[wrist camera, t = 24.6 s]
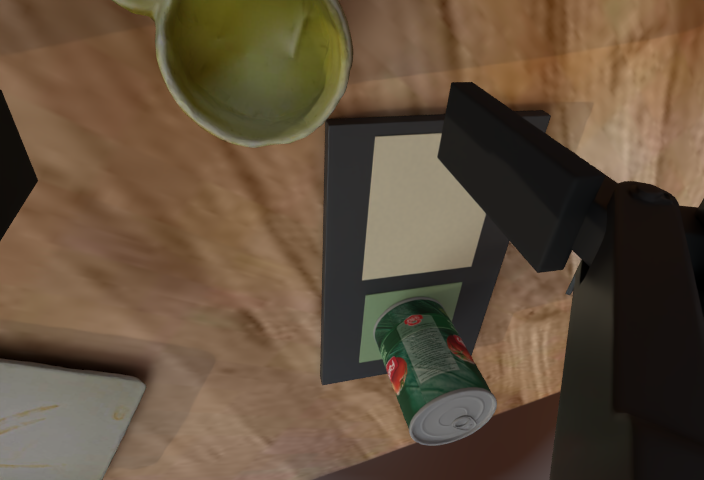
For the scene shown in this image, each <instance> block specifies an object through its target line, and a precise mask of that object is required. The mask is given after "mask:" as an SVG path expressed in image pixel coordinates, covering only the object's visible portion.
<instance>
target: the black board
mask: <svg viewBox="0 0 704 480" xmlns="http://www.w3.org/2000/svg"><path fill="white" fill-rule="evenodd" d="M514 112H516V113H517V114H518V115H520V116H521V117H523V118H524V119H526V120H527V121H528V122H530V123H531V124H533V125H534V126H536V127H537V128H538V129H540V130H541V131H543V132H544V133H545V132H546V129H547V126H548V123H549V120H550V117H551V115H549V114H548V113H546V112H545V111H543V110H536V111H514ZM444 119H445V114H440V115H416V116H392V117H368V118H344V119H327V120H326V121H325V163H324V213H323V264H322V314H321V364H320V378H321V382H322V385H327V384H332V383H338V382H343V381H349V380H354V379H360V378H365V377H371V376H377V375H382V374H388V373H387V370H386V367H385V365H384V362H383V359H382V357H381V354H380V351H379V348H378V345H377V343H376V341H375V339H374V335H373V330H374V326H375V323H376V321H377V320H378V318H379V317H380V315H381V314H382V313H383V312H384V311H385V310H387V309H388V308H389V307H391V306H392V305H394V304H396V303H398V302H400V301H402V300H405V299H408V298H413V297H429V298H432V299H435V300H437V301H438V302H440V303H441V304H442V305H443V307H444V309H445V312H446V314H447V315H448V317H449V318H450V320H451V322H452V324H453V325H454V327H455V329H456V331H457V332H458V334H459V336H460V338H461V339H462V342H463V343H464V345H465V346H466V349H467V350H468V352H469V353H470V356H471V355H472V352H473V349H474V346H475V343H476V340H477V337H478V334H479V331H480V328H481V325H482V322H483V319H484V316H485V313H486V310H487V307H488V304H489V301H490V298H491V295H492V292H493V289H494V286H495V283H496V280H497V277H498V274H499V271H500V268H501V265H502V262H503V259H504V256H505V253H506V250H507V247H508V244H509V239H508V238H507V237H506V236H505V235H504V234H503V233H502V231H501V230H500V229H499V228H498V227H497V226H496V225H495V223H494V222H493V221H492V220H491V219H490V218H489V216H488V215H487V214H486V213H485V212H484V211H483V210H482V208H481V207H480V206H479V205H478V204H477V203H476V202H475V200H474V199H473V198H472V197H471V196H470V195H469V194H468V192H467V191H466V190H465V189H464V188H463V187H462V186H461V184H460V183H459V182H458V181H457V180H456V179H455V178H454V176H453V175H452V174H451V173H450V172H449V171H448V169H447V168H446V167H445V166H444V165H443V164H442V163H441V161H440V160H439V159H438V158H437V156H438V151H439V145H440V140H441V135H442V130H443V124H444Z"/></svg>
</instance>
